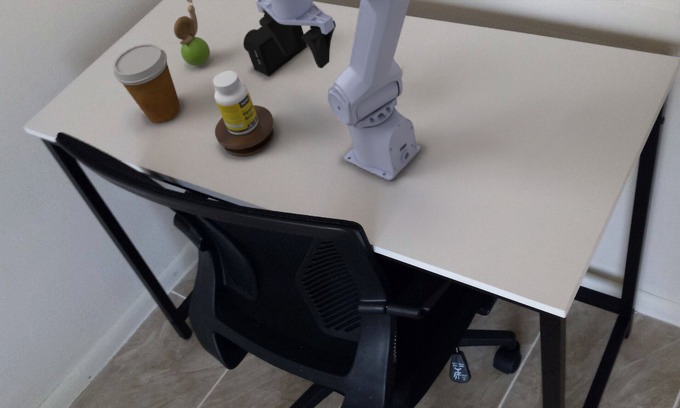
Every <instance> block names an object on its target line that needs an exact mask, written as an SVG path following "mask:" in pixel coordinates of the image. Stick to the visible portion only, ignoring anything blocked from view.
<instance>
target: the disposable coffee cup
mask: <svg viewBox="0 0 680 408" xmlns="http://www.w3.org/2000/svg"><path fill="white" fill-rule="evenodd" d="M112 68H113V76H114V78H115V79H116V81H118V82H119V83H120V84H122V85H123V87H124V88H125V89H126V91H127V92H128V94H129V95H130V96H131V98H132V99H133V100H134V102H135V103H136V104H137V106H138V107H139V108H140V110H141V112H143V114H144V115H145V116H146V118H147V119H148V120H149V121H150V122H151V123H154V124H163V123H166V122H168V121H171V120H172V119H174V118H175V117H176V116H177V115H179V113H180V111H181V108H182V107H181V103H180V99H179V96H178V93H177V89H176V87H175V84H174V81H173V78H172V75H171V71H170V68H169V65H168V56H167V53H166V51H165V50H163V49H162V48H161V47H160V46H159V45H157V44H154V43H141V44H137V45H133V46H131V47H129V48H128V49H126V50H124V51H122V52H121V53H120V54H119V55H118V56H117V57H116V58H115V60H114V62H113V67H112Z"/></svg>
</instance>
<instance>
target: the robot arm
mask: <svg viewBox="0 0 680 408" xmlns="http://www.w3.org/2000/svg"><path fill="white" fill-rule="evenodd" d="M314 1H315V0H255V4H256V7H257V10H258V12H259V13H261V14H263V16H262V17H261V18H260V19H259V20H258V23H259V25H260V27H263V28H264V29H266V30H267V31H268V32H269V33H270V35H271V36H272V37H273V38H274V40H275V41H276V43H277V44H278V46H279V47H280V49H281V50H282V52H283V53H284V55H288V54H290V53H291V52H292V51H293V50H294V49H295V41H294V37H293V32H292V26H291V25H301V26H302V27H303V26H305V27H309V28H310V29H308V30H307V31H306V32H305V33H304V35H302V36H301V38H302V39H303V40H304V41H305V42H306V44H307V48H308V49H309V50H310V52H311V54H312V57H313V60H314V62H315V65H316V66H317V68H319V69H323V68H324V67H325V66H327V65H328V64H329V63H330V53H331V52H330V51H331V42H332V39H333V34H334V32H335V29H336V27H337V23H336V21H335V20H334V18H333V16H331V15H329V14H327V13H325V12H324V11H323V10H322V9H321V8H319V7H318V5H316V4H315V3H314ZM410 2H411V0H360V1H359V8H358V13H357V18H356V23H355V24H356V25H355V29H354V30H355V31H354V34H353V35H354V36H353V42H352V47H351V55H350V59H349V63H348V65H347V67H345V68H344V70H343V71H342V72H341V73H340V74H339V75H338V76H337V77H336V78H335V80H334V81H333V84H332V86H330V87H329V88H328V89H327V102H328V105H329V107H330V109H331V111H332V112H333V114H334V116H335V117H336V118H337V119H338V121H340V122H341V123H342V124H344V125H346V126H347V128H348V132H349V136H350V140H351V144H352V148H351V149H350V150H349V151H348V152H347V153H346V154H345V155H344V156H343V159H344V161H346V162H347V163H349V164H352V165H354V166H356V167H358V168H360V169H363V170H365V171H367V172H368V173H371V174H373V175H376V176H377V177H380V178H382V179H384V180H387V181H388V182H390V181H393V180H394V179H395V177H397V176H398V174H400V172H401V171H402V170H403V169H404V168H405V167H406V166H407V165H408V164H409V163H410V162H411V161H412V160H413V158H415V156H416V155H417V154H419V152H421V146H420V145H418V144H417V141H416V134H415V128H414V127H415V126H414V124H413V121H412V120H411V119H409V118H408V117H405V116H404V115H403V114H401V113H400V111H398V110H397V108H396V106H398V98H399V97H400V96H401V95H402V94H403V91H404V89H403V88H404V83H403V79H402V77H403V74H404V72H403V69H402V68H401V66H400V64H399V63H398V62H397V61H396V60H395V55H396V51H397V47H398V44H399V40H400V38H401V37H400V36H401V33H402V30H403V26H404V22H405V19H406V15H407V12H408V9H409V6H410Z"/></svg>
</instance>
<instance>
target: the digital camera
mask: <svg viewBox="0 0 680 408" xmlns="http://www.w3.org/2000/svg"><path fill="white" fill-rule="evenodd" d="M291 26H292V32H293V37H294V41H295V49H294V50H293V51H292V52H291V53H290V54H288V55H284V53H283V52H282V50H281V49H280V47H279V46H278V44H277V43H276V41H275V40H274V38H273V37H272V36H271V35H270V33H269V32H268V31H267V30H266V29H264V28H263V27H262V26H260V27H259V28H258V29H256V28H254V29H253V28H252V29H250V30H249V31H247V33H245V36H244V38H243V48H244V50H245V51H246V52H247V53H248V55H249V60H250V61H251V64H252V67H253V69H254V71H256V72H258V73H260V74H262V75H264V76H266V77H268V78H270V77H271V76H272V75H273V74H275V73H276V72H277V71H278V70H279V69H281V68H282V67H284V66H285V65H286V64H288V63H289V62H290V61H291V60H293V59H294V58H295V57H296V56H297V55H299V54H300V53H301V52H303V51H304V50H305V49H306V48H308V45H307V44H306V42H305V41H304V40H303V39H302V38H301V36H302V35H304V34H305V33H304V29H303V25H291Z"/></svg>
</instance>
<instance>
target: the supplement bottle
mask: <svg viewBox="0 0 680 408" xmlns="http://www.w3.org/2000/svg"><path fill="white" fill-rule="evenodd" d="M212 84H213V86H214V88H215V91H214V95H213V97H214V101H215V104H216V105H217V108H218V110H219V112H220V115H221V118H222V117H223V120H224V122H225V125H226V127H227V129H228V131H229V132H230V133H232V134H235V135H242V134H246V133H249V132H250V131H252V130H253V129H254V128H255V127H256V126H257V124H258V117H257V114H256V111H255V109H254V106H253V105H254V103H253V101H252V97H251V95H250V92H249V90H248V87H247V85H246V84H245V83H244V82H242V81H241V80H240V77H239V75H238V73H237V72H236V71H234V70H223V71H222V72H220V73H217V74H216V75H215V76H214V78H213V80H212Z"/></svg>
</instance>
